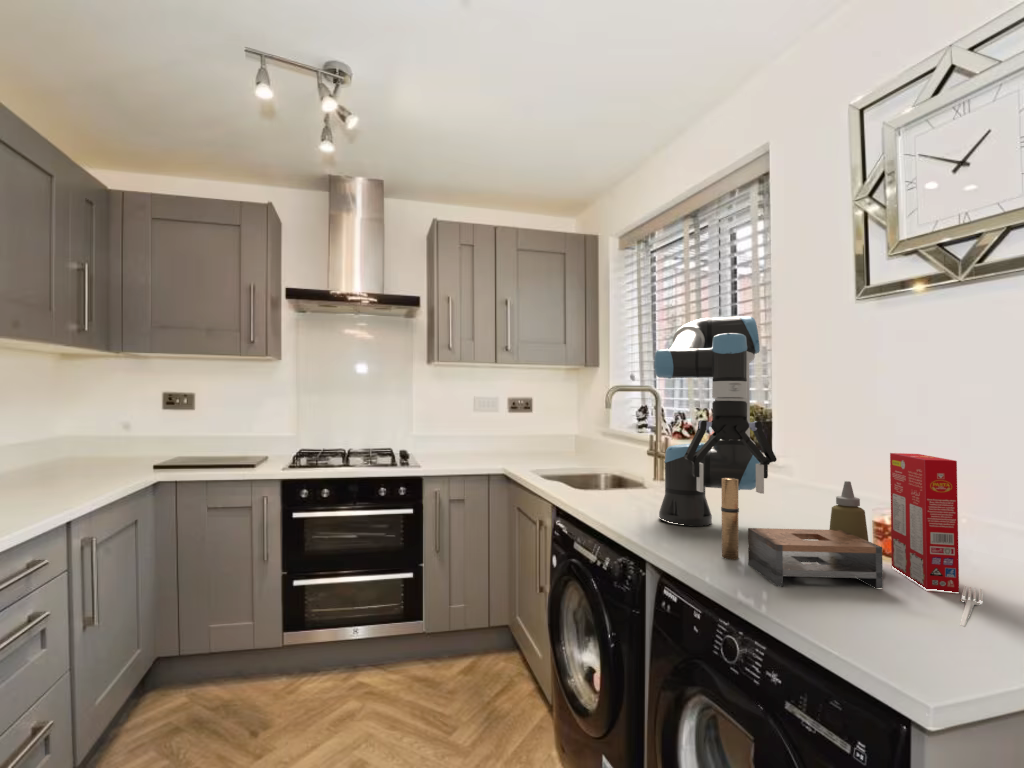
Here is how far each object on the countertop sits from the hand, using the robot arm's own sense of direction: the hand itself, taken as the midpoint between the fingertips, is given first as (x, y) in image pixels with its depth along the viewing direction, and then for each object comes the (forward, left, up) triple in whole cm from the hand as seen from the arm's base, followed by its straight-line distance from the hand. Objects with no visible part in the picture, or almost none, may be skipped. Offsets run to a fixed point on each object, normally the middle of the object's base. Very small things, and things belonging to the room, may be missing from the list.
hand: (729, 492), depth 124 cm
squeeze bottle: (+1, +26, -15) cm, 30 cm away
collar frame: (+12, +12, -15) cm, 23 cm away
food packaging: (+13, +34, -15) cm, 39 cm away
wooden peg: (0, 0, -15) cm, 15 cm away
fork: (+29, +31, -16) cm, 45 cm away
